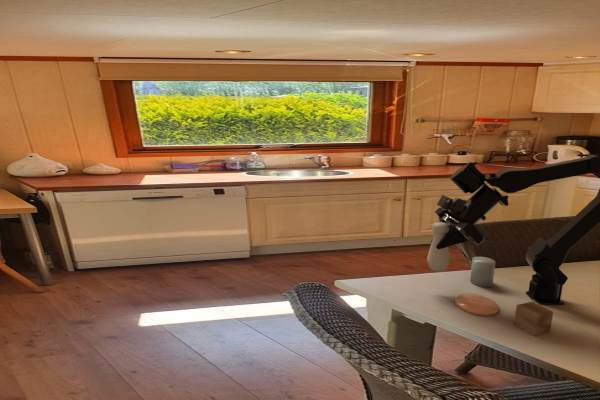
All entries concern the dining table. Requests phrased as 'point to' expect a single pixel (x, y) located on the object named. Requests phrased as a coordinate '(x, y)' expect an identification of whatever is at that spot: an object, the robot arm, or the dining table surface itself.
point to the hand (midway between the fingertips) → (434, 245)
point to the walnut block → (533, 318)
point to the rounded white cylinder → (482, 271)
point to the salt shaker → (438, 257)
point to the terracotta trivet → (477, 304)
